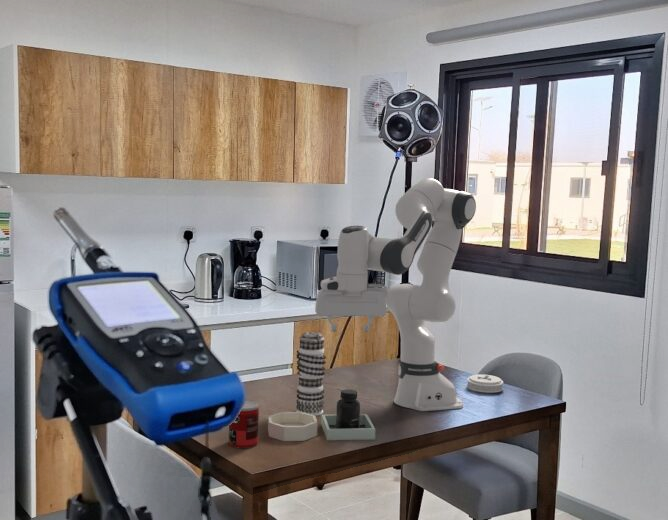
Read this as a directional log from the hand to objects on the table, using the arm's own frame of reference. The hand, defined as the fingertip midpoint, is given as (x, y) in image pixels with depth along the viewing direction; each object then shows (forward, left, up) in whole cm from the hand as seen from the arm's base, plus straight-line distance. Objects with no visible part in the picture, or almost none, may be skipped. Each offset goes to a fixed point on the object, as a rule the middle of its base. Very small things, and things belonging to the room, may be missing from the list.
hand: (350, 331), depth 210 cm
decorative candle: (+9, -19, -30) cm, 36 cm away
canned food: (+30, +8, -30) cm, 43 cm away
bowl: (+16, 0, -29) cm, 34 cm away
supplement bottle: (0, 0, -30) cm, 30 cm away
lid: (-56, -42, -30) cm, 76 cm away
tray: (0, 0, -29) cm, 29 cm away
